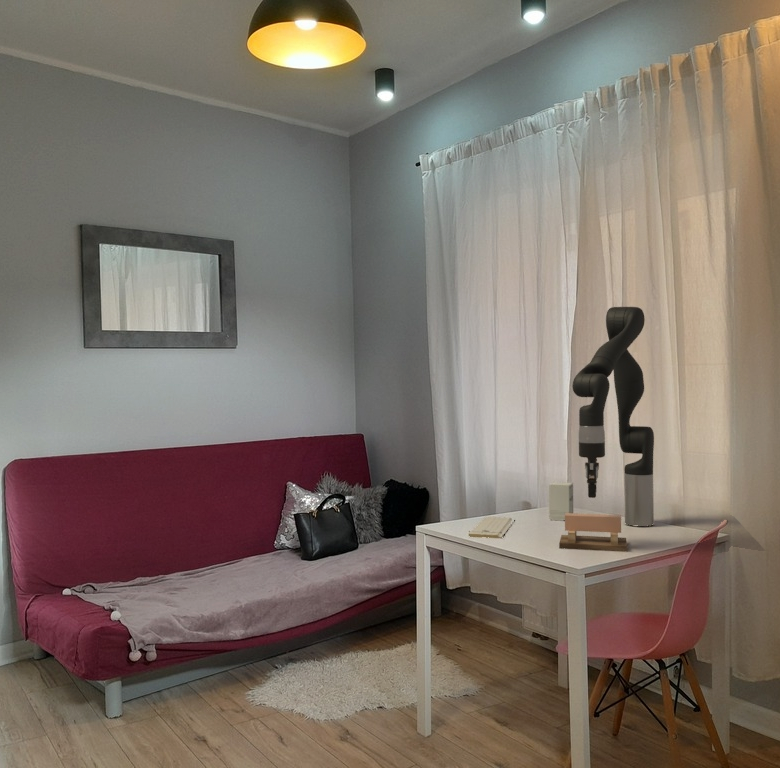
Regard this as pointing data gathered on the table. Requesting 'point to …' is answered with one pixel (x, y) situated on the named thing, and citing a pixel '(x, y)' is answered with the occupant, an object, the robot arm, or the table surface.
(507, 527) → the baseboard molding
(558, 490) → the supplement box
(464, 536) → the table surface
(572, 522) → the clay bar
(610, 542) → the cleated wooden board
